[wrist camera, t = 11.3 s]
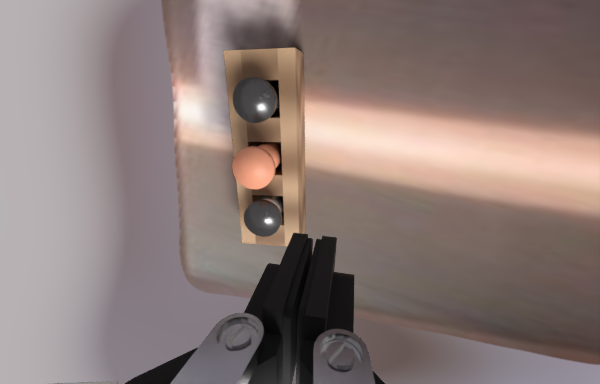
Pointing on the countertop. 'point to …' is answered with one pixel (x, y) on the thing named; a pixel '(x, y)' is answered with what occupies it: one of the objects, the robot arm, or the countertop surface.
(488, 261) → the countertop surface
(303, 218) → the socket strip
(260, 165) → the rust plug
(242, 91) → the grey plug near
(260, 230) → the grey plug far
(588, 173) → the countertop surface
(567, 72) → the countertop surface
